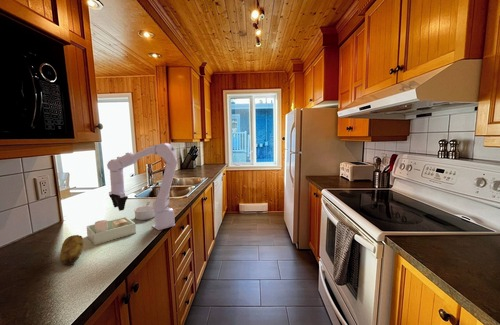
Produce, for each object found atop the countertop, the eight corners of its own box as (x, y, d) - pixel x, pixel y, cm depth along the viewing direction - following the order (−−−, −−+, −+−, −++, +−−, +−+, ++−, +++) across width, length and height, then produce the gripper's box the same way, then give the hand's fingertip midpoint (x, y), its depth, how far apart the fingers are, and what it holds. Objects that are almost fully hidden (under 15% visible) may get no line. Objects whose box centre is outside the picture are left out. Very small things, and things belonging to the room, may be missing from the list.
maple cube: (124, 228, 115) (123, 218, 115) (127, 231, 112) (127, 221, 112) (113, 231, 112) (112, 221, 111) (116, 234, 108) (116, 224, 108)
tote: (126, 225, 120) (125, 216, 119) (135, 233, 111) (135, 223, 110) (87, 236, 107) (86, 226, 107) (94, 245, 98) (93, 234, 98)
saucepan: (158, 209, 148) (158, 201, 147) (154, 220, 129) (154, 210, 128) (139, 210, 145) (138, 202, 144) (132, 222, 126) (131, 212, 125)
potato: (48, 269, 80) (46, 248, 80) (69, 251, 93) (67, 233, 92) (75, 266, 82) (73, 246, 81) (91, 249, 95) (90, 231, 94)
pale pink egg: (106, 233, 110) (105, 219, 109) (109, 236, 106) (108, 222, 105) (94, 236, 106) (93, 222, 105) (97, 239, 103) (96, 225, 102)
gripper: (104, 181, 117) (105, 207, 118) (113, 186, 107) (114, 213, 108) (119, 179, 122) (120, 204, 123) (128, 183, 112) (130, 210, 113)
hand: (119, 208), depth 116 cm, fingers open, 7 cm apart
